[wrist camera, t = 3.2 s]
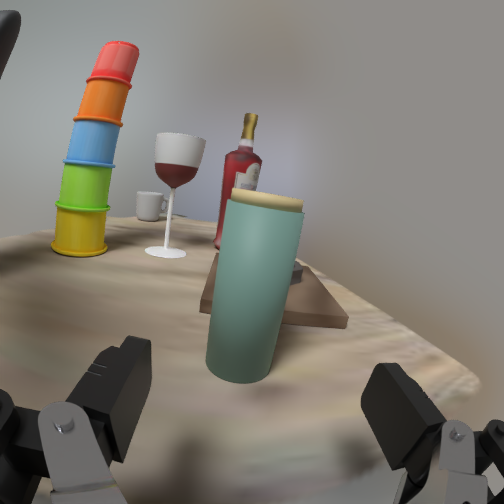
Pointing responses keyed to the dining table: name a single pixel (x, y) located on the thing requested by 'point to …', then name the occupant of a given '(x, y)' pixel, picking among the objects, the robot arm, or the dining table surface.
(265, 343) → the teal cylinder
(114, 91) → the stacking cups
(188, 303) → the dining table surface
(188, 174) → the wineglass
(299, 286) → the lamp base
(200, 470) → the dining table surface
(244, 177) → the liquor
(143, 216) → the cup
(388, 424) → the robot arm
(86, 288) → the dining table surface
